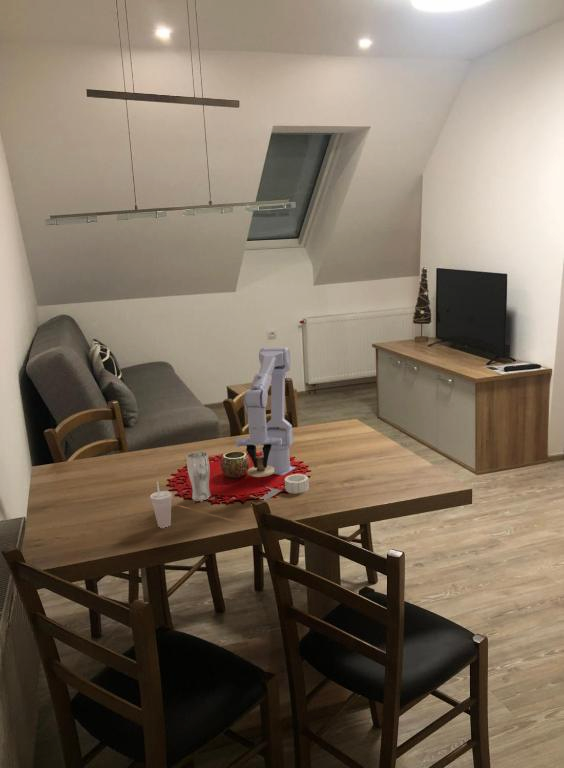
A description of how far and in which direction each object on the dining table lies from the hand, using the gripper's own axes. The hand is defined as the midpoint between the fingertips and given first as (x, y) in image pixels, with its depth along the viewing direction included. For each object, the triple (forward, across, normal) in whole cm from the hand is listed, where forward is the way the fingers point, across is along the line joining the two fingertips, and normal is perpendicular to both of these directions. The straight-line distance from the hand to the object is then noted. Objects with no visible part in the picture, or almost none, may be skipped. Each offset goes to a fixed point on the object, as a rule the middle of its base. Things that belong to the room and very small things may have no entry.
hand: (260, 466), depth 205 cm
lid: (+2, 0, 0) cm, 2 cm away
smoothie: (+10, -26, -22) cm, 36 cm away
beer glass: (+10, -20, -3) cm, 22 cm away
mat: (+9, 0, 0) cm, 9 cm away
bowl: (+9, +11, +3) cm, 15 cm away
